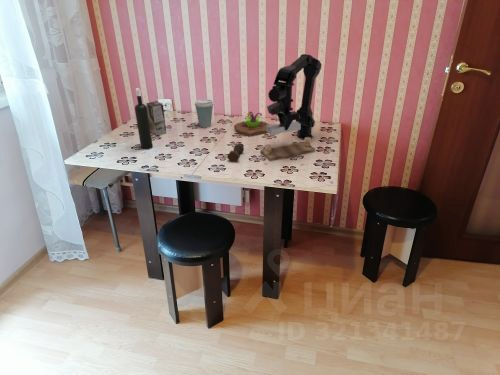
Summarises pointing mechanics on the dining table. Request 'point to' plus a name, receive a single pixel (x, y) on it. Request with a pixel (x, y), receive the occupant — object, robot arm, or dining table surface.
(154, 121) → the coffee box
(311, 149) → the peg rack
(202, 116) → the disposable coffee cup
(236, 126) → the plant
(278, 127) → the grey stepped block
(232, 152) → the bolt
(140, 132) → the wine bottle
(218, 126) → the dining table surface
